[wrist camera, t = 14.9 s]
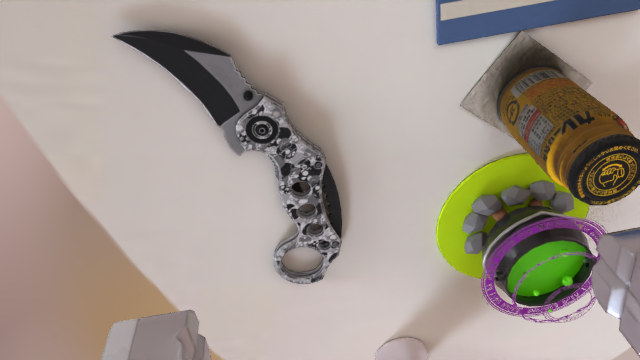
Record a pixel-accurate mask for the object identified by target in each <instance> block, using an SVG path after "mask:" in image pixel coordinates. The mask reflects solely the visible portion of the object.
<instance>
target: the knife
mask: <svg viewBox="0 0 640 360" xmlns="http://www.w3.org/2000/svg"><path fill="white" fill-rule="evenodd" d="M112 37H114V38H115V39H117V40H119V41H121V42H122V43H124V44H126V45H128V46H129V47H131V48H133V49H135V50H136V51H138V52H140V53H142V54H144V55H145V56H146V57H148V58H149V59H151V60H152V61H153V62H155V63H156V64H158V65H159V66H161V67H162V68H163V69H165V70H166V71H167V72H168V73H170V74H171V75H172V76H173V77H174V78H175V79H176V80H177V81H178V82H179V83H180V84H181V85H183V86H184V87H185V88H186V89H187V90H188V91H189V92H190V93H191V94H192V95H193V96H194V97H195V98H197V99H198V100H199V101H200V103H201V104H202V105H203V107H204V108H205V110H206V111H207V112H208V114H209V115H210V117H211V118H212V120H213V121H214V122H215V124H216V125H217V126H219V127H221V128H222V129H223V130H224V137H225V139H226V141H227V143H228V145H229V146H230V148H231V149H232V150H233V151H234V153H235V154H237V155H239V156H241V155H242V154H243V153H244V152H245V151H261V152H263V153H265V154H267V155H268V156H270V159H271V160H273V161H272V162H273V163H274V166H275V169H276V171H275V172H276V174H275V175H276V177H277V178H278V180H279V193H280V197H281V201H282V204H283V206H284V208H285V210H286V211H287V213H288V214H289V216H290V217H291V218H292V219H293V221H294V222H295V223H296V225H297V227H298V232H297V233H296V234H295V235H294V236H292V237H291V238H288V239H286V240H284V241H283V242H281V243H280V244H279V245H278V247H277V248H276V249H275V253H274V266H275V268H276V271H277V272H278V273H279V274H280V276H281V277H283V278H284V279H286V280H288V281H290V282H292V283H298V284H310V283H314V282H317V281H320V280H322V279H323V277H324V274H325V272H326V269H327V268H328V266H329V264H330V263H331V262H332V260H334V259H335V258H336V257H337V256H338V255H339V251H340V247H341V243H342V240H341V231H342V216H341V207H340V201H339V196H338V192H337V188H336V185H335V182H334V179H333V177H332V174H331V172H330V170H329V168H328V166H327V165H326V161H325V156H324V154H323V152H322V151H321V149H320V148H319V147H317V146H315V145H313V144H312V143H311V142H309V141H308V140H306V138H305V137H303V136H302V135H300V133H299V132H298V131H297V130H296V128H295V127H294V126H293V125H292V124H291V122H290V120H289V119H288V116H287V114H286V112H285V108H284V105H283V103H282V102H280V101H279V100H277V99H275V98H274V97H272V96H270V95H268V94H267V93H264V94H262V93H257V90H256V89H253V88H252V87H251V84H250V83H246V79H245V78H244V77H242V76H241V72H240V71H237V70H236V66H235V64H234V61H233V59H232V57H231V55H230V54H228V53H227V52H225V51H223V50H221V49H219V48H217V47H215V46H213V45H211V44H208V43H206V42H203V41H201V40H198V39H195V38H192V37H189V36H186V35H182V34H178V33H173V32H167V31H156V30H138V31H130V32H123V33H119V34H116V35H112ZM300 181H302V182H307V183H308V184H309V185H310V189H309V190H307V191H305V192H303V190H302V188H301V186H300V184H299V182H300ZM322 184H324V185H325V186H324V187H323V188H322ZM322 190H323V193H325V194H328V195H327V196H326V201H327V202H330V204H329V205H328V207H327V209H328V211H329V212H331V213H330V214H329V215H327V213H326V210H325V207H324V204H323V200H322ZM303 204H312V205H314V206H315V209H314V210H312V211H311V212H302V211H300V210H299V209H298V208H299V207H300V206H301V205H303ZM331 221H332V222H331ZM312 224H320V225H322V227H321V228H320V229H317V230H312V229H310V228H308V227H309V226H311V225H312ZM322 241H328V242H326V243H321V242H322ZM298 247H309V248H313V249H315V250H317V251H319V252H320V253H321V255H322V256H323V261H322V263H321V264H320V265H319V266H318V267H317V268H316V269H314V270H312V271H308V272H294V271H291V270H289V269H287V268H286V267H285V266H284V265H283V263H282V261H281V260H282V257H283V256H284V254H285V253H286V252H288V251H289V250H291V249H294V248H298Z"/></svg>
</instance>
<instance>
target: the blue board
mask: <svg viewBox="0 0 640 360" xmlns="http://www.w3.org/2000/svg"><path fill="white" fill-rule="evenodd" d="M638 9H640V0H436V11H437V44H438V45H442V44H448V43H454V42H459V41H465V40H470V39H476V38H481V37H487V36H493V35H498V34H504V33H509V32H515V31H521V30H526V29H532V28H537V27H543V26H548V25H554V24H560V23H565V22H571V21H576V20H582V19H588V18H593V17H599V16H604V15H610V14H615V13H621V12H627V11H632V10H638Z"/></svg>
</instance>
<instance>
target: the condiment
mask: <svg viewBox="0 0 640 360" xmlns="http://www.w3.org/2000/svg"><path fill="white" fill-rule="evenodd" d="M591 83H592V82H591V81H590V80H588V79H587V78H586V77H584V76H583V75H582V74H580V73H579V72H578V71H576V70H575V69H574V68H572V67H571V66H569V65H568V64H567V63H565V62H564V61H563V60H561V59H560V58H559V57H557V56H556V55H555V54H553V53H552V52H550V51H549V50H548V49H546V48H545V47H544V46H542V45H541V44H540V43H538V42H537V41H536V40H534V39H533V38H531V37H530V36H529V35H527V34H526V33H525V32H523V31H521V32H520V34H519V35H518V36H517V37H516V38H515V39H514V40H513V41H512V42H511V44H510V45H509V46H508V47H507V48H506V49H505V51H504V52H503V53H502V55H501V56H500V57H499V58H498V59H497V60H496V61H495V62H494V64H493V65H492V66H491V67H490V69H489V70H488V71H487V72H486V73H485V74H484V75H483V77H482V78H481V80H480V81H479V82H478V84H477V85H476V86H475V87H474V88H473V89H472V91H471V92H470V93H469V95H468V96H467V97H466V99H465V100H464V101H463V102H462V103H461V106H462V107H464V108H465V109H467V110H468V111H470V112H472V113H473V114H475V115H476V116H478V117H480V118H482V119H483V120H485V121H486V122H488V123H490V124H491V125H493V126H494V127H496V128H498V129H499V130H501V131H503V132H504V133H506V134H507V135H509V136H511V137H512V138H514V139H515V140H516V141H517V142H518V143H519V144H520V145H521V146H522V147H523V148H524V149H525V150H526V151H527V152H528V153H529V154H530V156H531V157H532V158H533V159H534V160H535V162H536V164H538V165H539V166H540V167H541V169H543V171H544V172H545V173H546V174H547V175H548V176H549V177H550V178H551V180H553V181H554V182H556V183H557V184H559V185H561V186H564V187H565V188H566V189H568V190H569V191H570V193H572V195H573V196H574V197H575V198H577V199H579V200H580V201H582V202H584V203H586V204H589V205H608V204H610V203H613V202H616V201H618V200H620V199H622V198H624V197H626V196H627V195H629V194H630V193H631V192H632V191H633V190H635V189H636V188H637V187H638V185H640V140H639V139H637V138H635V137H634V135H633V134H632V133H631V132H630V131H629V129H628V126H627V125H626V123H625V122H624V121H623V120H622V119H621V118H620V117H619V116H618V115H617V114H615V113H614V112H613V111H611V110H610V109H609V108H608V107H606V106H605V105H603V104H602V103H601V102H599V101H598V100H597V99H596V98H594V97H593V96H591V95H590V94H589V93H587V92H586V91H585V90H586V89H587V88H588V87H589V86H590V84H591Z"/></svg>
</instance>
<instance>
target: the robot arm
mask: <svg viewBox="0 0 640 360" xmlns="http://www.w3.org/2000/svg"><path fill="white" fill-rule="evenodd" d="M596 250H597V252H598V253H599V254H600V255H601V256H602V257H601V258H600V259H599V260H598V262H597V263H596V264H595V265H594V266H593V269H592V276H591V281H592V286H593V291H594V294H595V296H596V298H597V300H598V302H599V304H600V305H601V306H602V308H603V309H604V311H605V312H606V313H608V314H610V315H612V316H614V317H616V318H618V319H620V326H619V331H620V332H621V333H622V335H623V336H624V337H625V338H626V340H627V341H628V342H629V344H630V345H631V346H632V348H633V349H634V350H635V351H636V353H637V354H638V356H639V357H640V227H638V228H633V229H628V230H622V231H617V232H612V233H607V234H602V236H601V237H600V238H599V240H598V243H597V248H596ZM198 329H199V321H198V319H197V316H196V314H195V312H194V311H192V310H186V311H180V312H174V313H168V314H161V315H155V316H149V317H142V318H140V319H133V320H126V321H120V322H116V323H115V324H114V325H113V326H112V328H111V329H110V332H109V336H108V339H107V342H106V346H105V349H104V353H103V356H102V359H101V360H211V355H210V351H209V347H208V344H207V341H206V339H205V337H203V336H202V335H200V334H198Z"/></svg>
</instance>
